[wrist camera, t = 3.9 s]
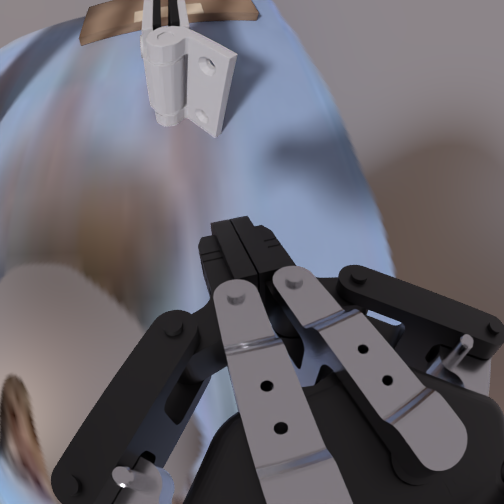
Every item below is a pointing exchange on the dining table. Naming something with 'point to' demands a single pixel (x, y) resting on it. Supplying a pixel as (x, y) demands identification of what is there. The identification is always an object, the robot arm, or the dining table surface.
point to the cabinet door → (131, 12)
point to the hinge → (184, 69)
